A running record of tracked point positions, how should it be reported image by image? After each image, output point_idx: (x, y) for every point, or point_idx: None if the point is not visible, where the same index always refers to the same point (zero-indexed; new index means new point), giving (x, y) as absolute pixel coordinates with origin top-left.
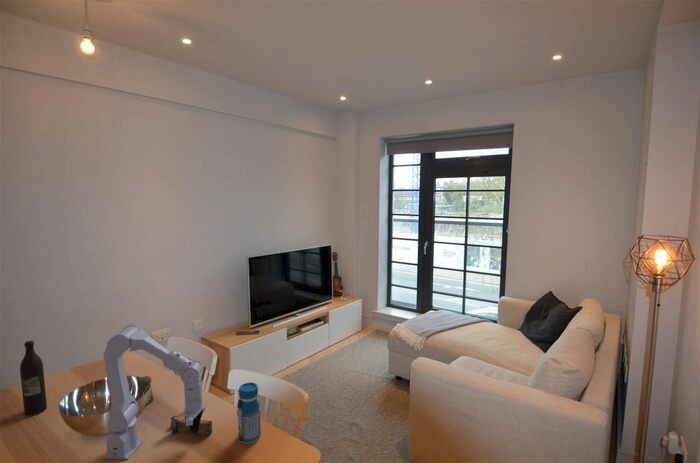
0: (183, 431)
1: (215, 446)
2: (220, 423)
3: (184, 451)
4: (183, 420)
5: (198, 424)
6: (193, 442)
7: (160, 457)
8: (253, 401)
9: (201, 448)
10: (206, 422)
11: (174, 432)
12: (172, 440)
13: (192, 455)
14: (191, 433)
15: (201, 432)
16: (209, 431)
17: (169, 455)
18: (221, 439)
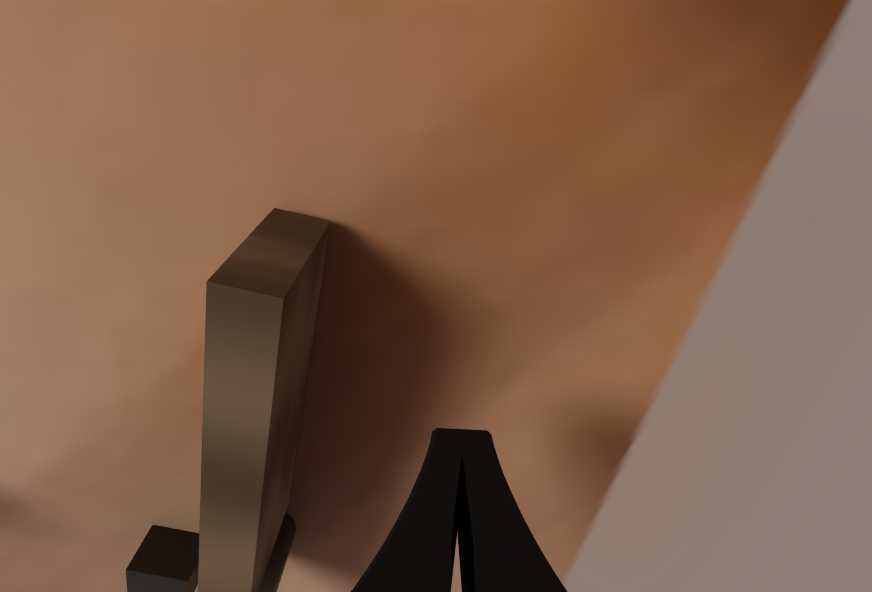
0: (286, 491)
1: (573, 117)
2: (80, 121)
3: (556, 423)
4: (212, 590)
5: (537, 547)
6: (434, 371)
7: (575, 559)
8: None
9: (559, 281)
10: (255, 353)
11: (289, 543)
12: (373, 525)
13: (647, 348)
14: (300, 415)
15: (311, 333)
16: (317, 249)
17: (572, 514)
18: (440, 50)
